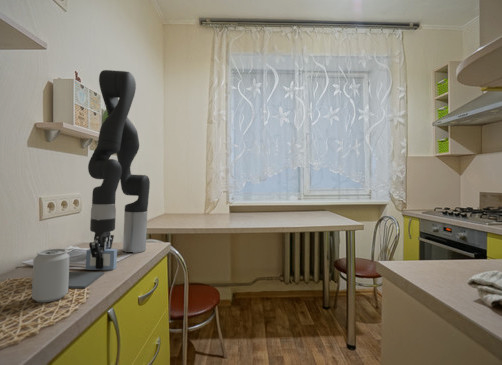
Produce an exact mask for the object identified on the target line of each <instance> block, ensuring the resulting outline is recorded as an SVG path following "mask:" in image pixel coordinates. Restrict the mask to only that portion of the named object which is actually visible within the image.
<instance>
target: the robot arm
mask: <svg viewBox="0 0 502 365" xmlns="http://www.w3.org/2000/svg"><path fill="white" fill-rule="evenodd" d="M98 84H99V89H100V92H101V95H102V99H103V102H104V106H105V108H106V112H107V117H106V118H105V119H104V121H103V122H102V124H101V125H100V129H99V135H98V139H97V145H96V147H95V149H94V150H93V152H92V155H91V157H90V159H89V161H88V166H87V170H88V171H87V172H88V174H89V175H90V177H91V178H93V179H95V180H102V182H101V184H100V185H99V186H95V187H93V190H92V196H91V198H92V200H91V207H90V208H91V209H90V223H89V224H90V226H89V230H90V232H92V233H94V236H93V242H89V243H88V244H89V245H88V246H89V249H90V250H91V254H92V257H95V258H96V269H102V268H103V259H104V258H103V257H104V251H105V250H106V249H112V247H113V242H114V237H115V236H114V234H111V232H113V231H115V229H116V215H117V214H116V211H117V210H116V198H117V197H116V194H117V193H116V192H117V190H118V187H119V183H120V186H121V191H122V194H123V195H125V196H133V197H134V196H135V197H137V199H136V200H134V201H133V202H130V203H127V204H125V205H124V216H123V218H124V219H123V237H122V238H123V242H122V252H123V251H125V252H124V253H126V252H133V253H132V254H136V253H143V252H145V251H146V250H147V230H148V229H147V228H148V207H149V196H150V195H149V194H150V189H151V188H150V184H151V183H150V182H151V181H150V178H149V176H148V175H146V174H132V171H131V166H132V163H133V161H134V159H135V157H136V156H137V154H138V152H139V150H140V141H139V135H138V134H139V133H138V129H137V128H136V127H135V125H134V124H133V123H132V121H131V120H130V119H129V117H128V115H129V113H130V109H131V106H132V104H133V102H134V101H133V100H134V98H135V94H136V89H137V84H136V79H135V76H134V75H133V74H132V73H131V72H129V71H124V70H110V69H109V70H108V69H104V70H101V71H100V73H99V77H98ZM115 154H116V158H117V159H114V158H111V156H113V155H115Z"/></svg>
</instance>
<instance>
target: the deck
mask: <svg viewBox="0 0 502 365" xmlns="http://www.w3.org/2000/svg"><path fill="white" fill-rule="evenodd" d="M85 256H86V257H85V270H86V271H87V270H89V271H93V270H95V271H98V270H99V271H100V270H101V271H109V270H110V271H114V270H115V269H117V262H118V261H117V258H118V249H117V248H111V249H106V250H105V251H104V257H103V258H104V259H103V268H102V269H96V258H95V257H92V254H91V250H90V248H89V249H87V250H86V255H85Z"/></svg>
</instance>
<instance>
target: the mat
mask: <svg viewBox="0 0 502 365" xmlns="http://www.w3.org/2000/svg"><path fill="white" fill-rule="evenodd" d="M104 274H105V272H104V271H69V282H68V289H87V288H88V287H89V286H90V285H92V284H93V283H95V281H97V280H98V279H99V278H101V277H102V276H103V275H104Z"/></svg>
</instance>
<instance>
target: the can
mask: <svg viewBox="0 0 502 365" xmlns="http://www.w3.org/2000/svg"><path fill="white" fill-rule="evenodd" d="M67 252H68V249H66V248H49V249H43V250H39V251H37V253H36V256H35V257H34V258H33V261H32V262H33V263H32V266H33V267H32V285H31V298H32V300H34V301H36V302H37V303H50V302H55V301H58V300H61V299H63V298H64V297H65V296H66V295H67V294H68V293H69V288H68V282H69V272H70V256H71V255H70V254H69V253H67Z"/></svg>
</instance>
